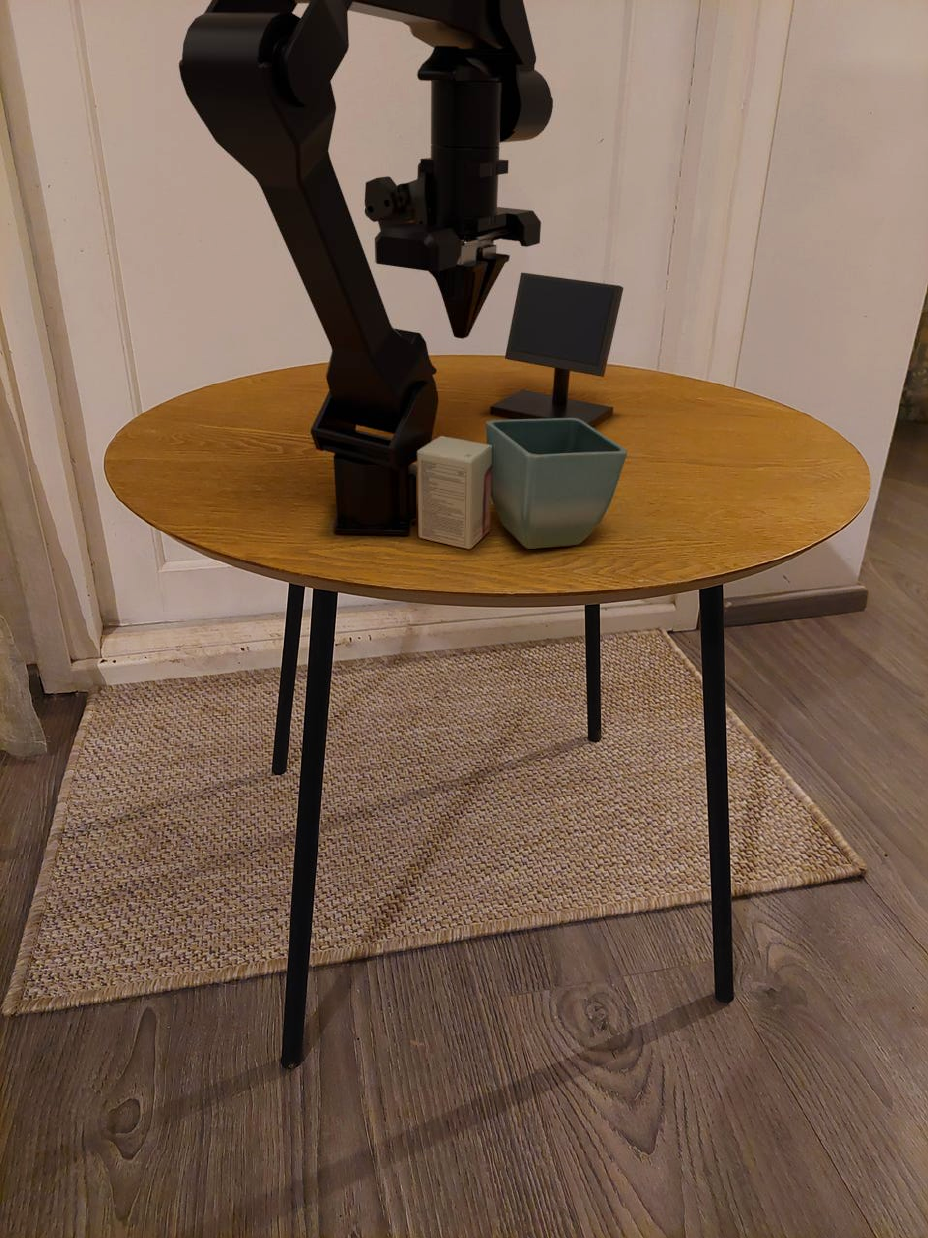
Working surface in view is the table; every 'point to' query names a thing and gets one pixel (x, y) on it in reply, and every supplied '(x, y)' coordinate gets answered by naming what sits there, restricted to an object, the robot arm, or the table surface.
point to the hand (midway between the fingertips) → (460, 337)
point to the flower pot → (552, 478)
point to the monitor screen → (563, 323)
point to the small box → (454, 491)
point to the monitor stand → (551, 404)
